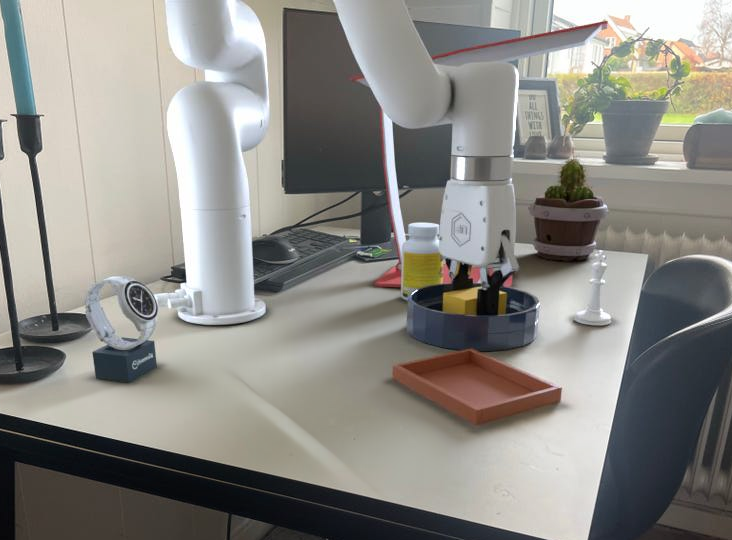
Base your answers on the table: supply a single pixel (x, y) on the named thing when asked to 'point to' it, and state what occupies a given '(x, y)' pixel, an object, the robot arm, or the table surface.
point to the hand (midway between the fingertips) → (473, 311)
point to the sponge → (468, 302)
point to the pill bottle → (421, 258)
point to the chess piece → (595, 297)
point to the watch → (123, 354)
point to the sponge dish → (476, 385)
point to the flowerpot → (567, 216)
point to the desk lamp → (482, 53)
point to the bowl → (472, 321)
